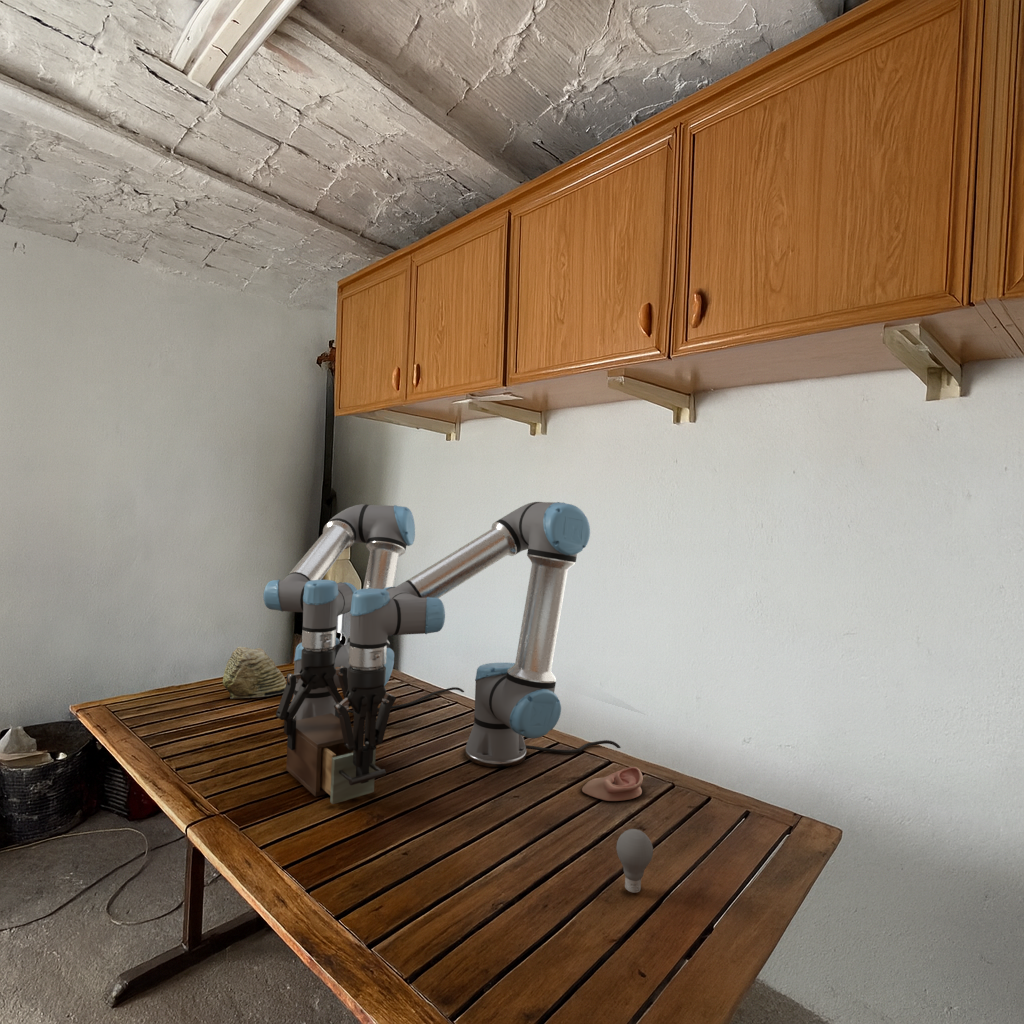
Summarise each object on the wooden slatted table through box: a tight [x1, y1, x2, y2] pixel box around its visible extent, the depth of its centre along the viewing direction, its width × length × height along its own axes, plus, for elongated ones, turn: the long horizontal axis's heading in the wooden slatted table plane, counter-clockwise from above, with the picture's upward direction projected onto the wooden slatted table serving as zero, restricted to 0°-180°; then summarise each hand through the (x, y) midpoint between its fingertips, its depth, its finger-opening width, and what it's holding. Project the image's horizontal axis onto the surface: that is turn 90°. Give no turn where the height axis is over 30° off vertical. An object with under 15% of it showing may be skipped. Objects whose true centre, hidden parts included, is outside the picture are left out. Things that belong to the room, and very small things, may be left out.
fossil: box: [222, 646, 287, 699], centre depth 198 cm, size 9×18×15 cm, turn 132°
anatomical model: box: [581, 766, 644, 802], centre depth 142 cm, size 13×4×12 cm
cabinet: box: [285, 713, 353, 797], centre depth 143 cm, size 16×11×11 cm, turn 41°
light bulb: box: [615, 828, 654, 894], centre depth 106 cm, size 6×6×10 cm
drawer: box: [320, 743, 387, 805], centre depth 135 cm, size 21×9×9 cm, turn 41°
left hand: (315, 742), depth 147 cm, fingers closed on cabinet, 11 cm apart
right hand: (362, 780), depth 129 cm, fingers closed
